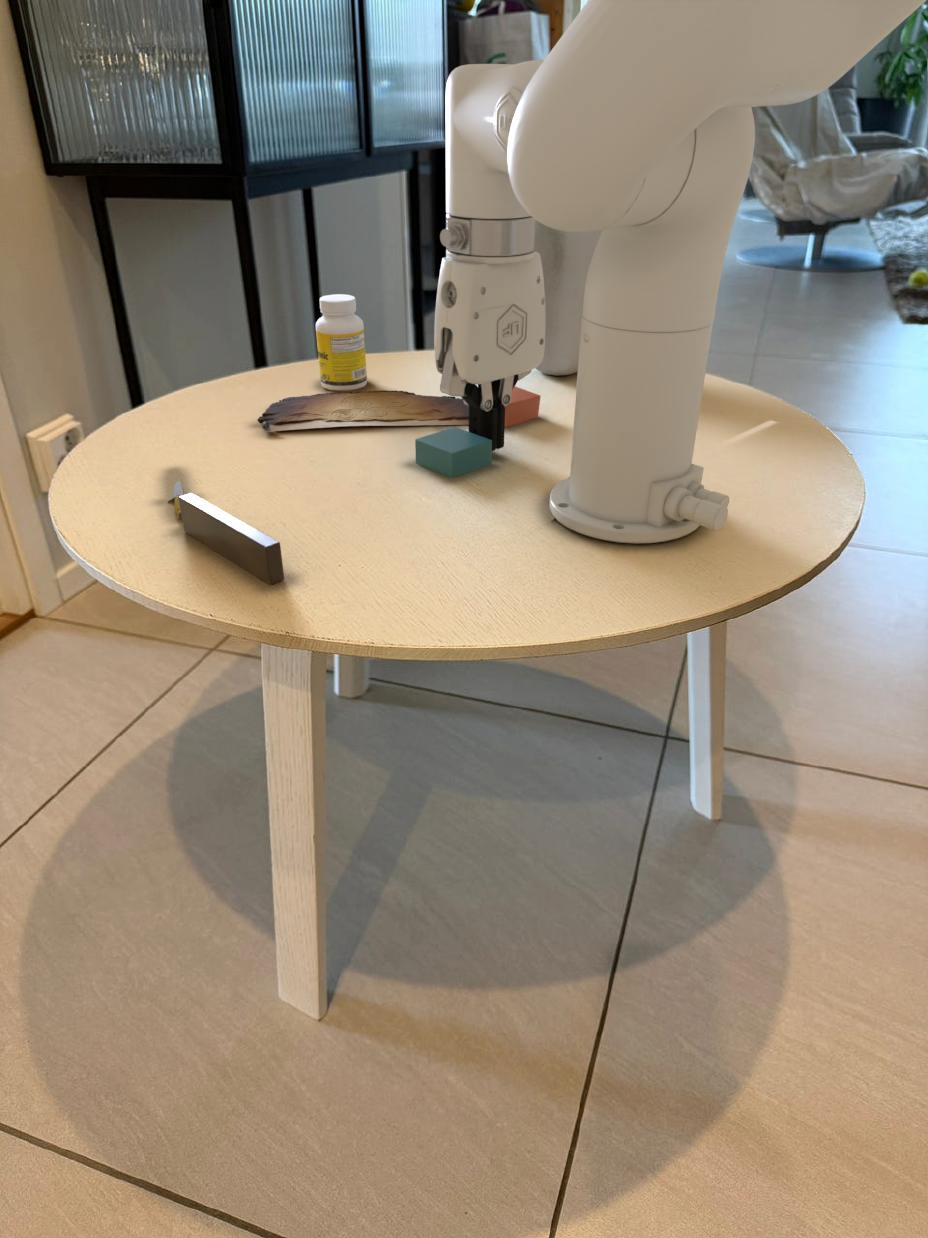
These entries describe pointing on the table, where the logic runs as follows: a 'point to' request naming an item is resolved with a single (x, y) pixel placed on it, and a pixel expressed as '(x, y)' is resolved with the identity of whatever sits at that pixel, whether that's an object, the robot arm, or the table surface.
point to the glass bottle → (563, 293)
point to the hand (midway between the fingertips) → (486, 445)
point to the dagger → (177, 493)
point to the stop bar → (232, 538)
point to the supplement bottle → (341, 344)
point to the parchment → (364, 410)
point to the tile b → (521, 407)
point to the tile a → (453, 452)
